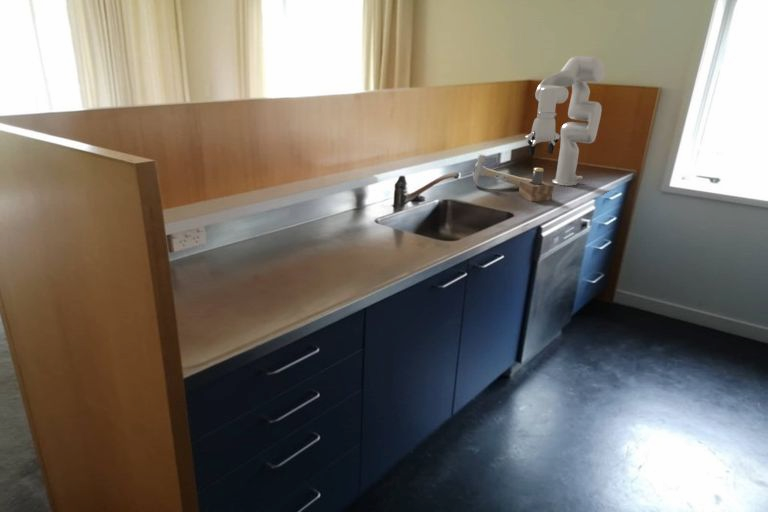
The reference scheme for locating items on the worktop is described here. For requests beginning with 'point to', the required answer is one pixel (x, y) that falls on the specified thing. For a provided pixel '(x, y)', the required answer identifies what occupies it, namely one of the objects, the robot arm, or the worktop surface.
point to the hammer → (494, 173)
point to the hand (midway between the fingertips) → (540, 154)
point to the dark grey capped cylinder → (537, 176)
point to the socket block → (535, 191)
